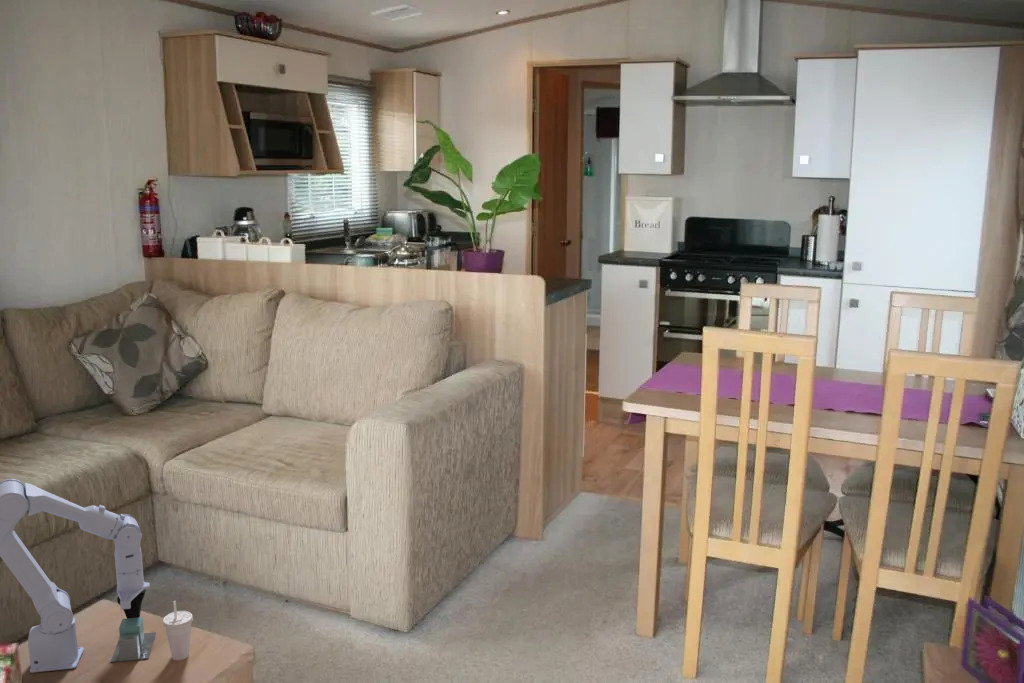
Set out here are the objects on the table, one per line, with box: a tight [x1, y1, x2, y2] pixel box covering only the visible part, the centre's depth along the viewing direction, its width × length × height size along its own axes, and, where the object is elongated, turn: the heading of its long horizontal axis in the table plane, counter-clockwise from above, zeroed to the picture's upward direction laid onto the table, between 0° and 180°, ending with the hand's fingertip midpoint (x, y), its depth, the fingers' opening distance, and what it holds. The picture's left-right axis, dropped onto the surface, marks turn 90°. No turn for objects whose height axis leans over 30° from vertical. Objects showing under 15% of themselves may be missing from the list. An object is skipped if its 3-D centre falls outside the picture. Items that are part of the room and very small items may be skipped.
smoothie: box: [162, 600, 194, 661], centre depth 203 cm, size 6×6×14 cm
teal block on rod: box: [118, 616, 145, 646], centre depth 205 cm, size 4×4×5 cm
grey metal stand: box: [110, 631, 157, 663], centre depth 207 cm, size 8×11×6 cm
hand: (133, 621), depth 208 cm, fingers closed
